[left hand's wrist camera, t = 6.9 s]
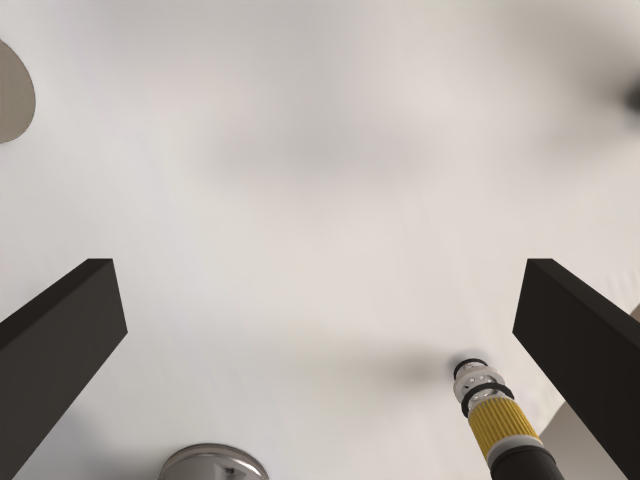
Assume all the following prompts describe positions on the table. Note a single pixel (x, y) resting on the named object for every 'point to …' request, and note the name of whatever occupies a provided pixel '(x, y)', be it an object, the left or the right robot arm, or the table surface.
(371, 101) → the table surface
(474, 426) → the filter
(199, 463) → the right robot arm
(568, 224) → the table surface
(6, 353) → the left robot arm
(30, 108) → the jar
